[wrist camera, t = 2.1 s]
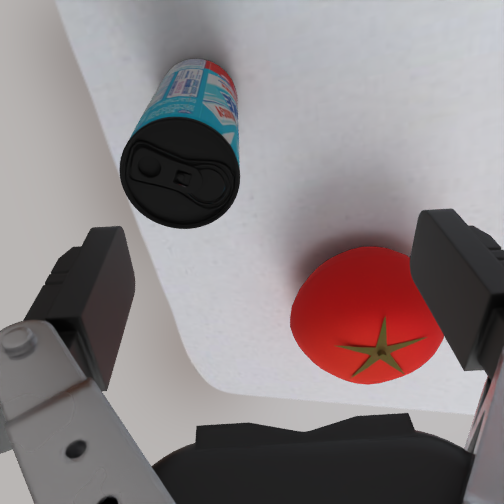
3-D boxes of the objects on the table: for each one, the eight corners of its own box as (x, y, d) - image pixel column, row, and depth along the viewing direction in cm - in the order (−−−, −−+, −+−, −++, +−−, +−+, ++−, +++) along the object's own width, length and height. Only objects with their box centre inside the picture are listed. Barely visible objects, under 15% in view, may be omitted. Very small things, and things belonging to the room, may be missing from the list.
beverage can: (213, 147, 36) (204, 246, 24) (148, 109, 34) (100, 196, 22) (251, 84, 34) (263, 159, 21) (182, 39, 32) (150, 93, 19)
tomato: (447, 246, 43) (502, 319, 34) (389, 337, 50) (422, 416, 41) (312, 213, 40) (334, 283, 32) (270, 314, 47) (279, 394, 38)
